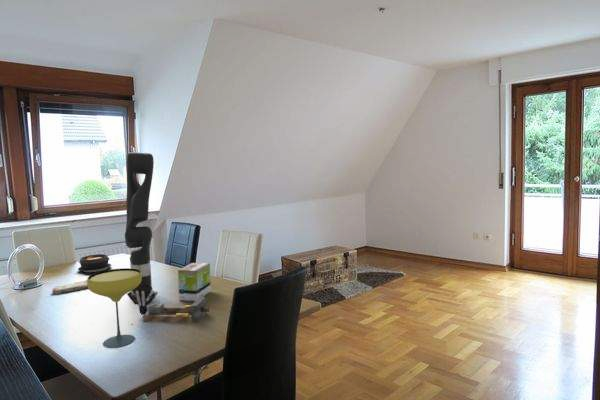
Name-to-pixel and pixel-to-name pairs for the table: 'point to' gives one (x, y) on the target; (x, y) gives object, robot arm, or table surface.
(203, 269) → the tea box
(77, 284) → the elongated rock
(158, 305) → the dice cube
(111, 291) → the cocktail glass
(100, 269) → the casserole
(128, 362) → the table surface
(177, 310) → the guide channel
